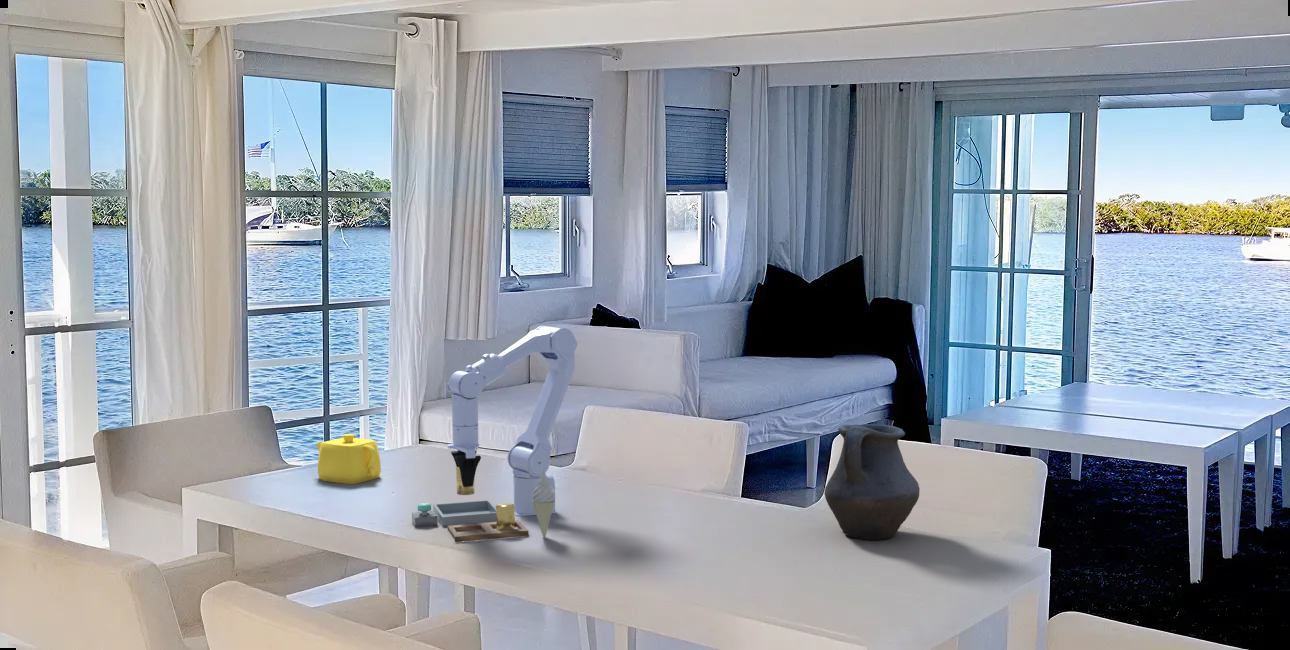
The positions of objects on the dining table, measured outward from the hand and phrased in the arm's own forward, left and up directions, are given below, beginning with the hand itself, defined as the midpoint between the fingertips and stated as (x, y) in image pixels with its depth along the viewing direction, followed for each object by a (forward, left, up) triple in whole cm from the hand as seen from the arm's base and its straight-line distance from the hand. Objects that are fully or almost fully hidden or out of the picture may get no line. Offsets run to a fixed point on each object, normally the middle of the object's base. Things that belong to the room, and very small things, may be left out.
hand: (466, 484), depth 292 cm
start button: (+9, -1, -8) cm, 12 cm away
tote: (-1, -4, -9) cm, 10 cm away
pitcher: (-81, +40, -9) cm, 90 cm away
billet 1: (0, 0, -2) cm, 2 cm away
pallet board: (-3, +11, -9) cm, 14 cm away
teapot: (+21, -59, -9) cm, 64 cm away
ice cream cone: (-14, +18, -9) cm, 24 cm away
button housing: (+9, -1, -9) cm, 13 cm away
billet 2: (-7, +11, -9) cm, 15 cm away
